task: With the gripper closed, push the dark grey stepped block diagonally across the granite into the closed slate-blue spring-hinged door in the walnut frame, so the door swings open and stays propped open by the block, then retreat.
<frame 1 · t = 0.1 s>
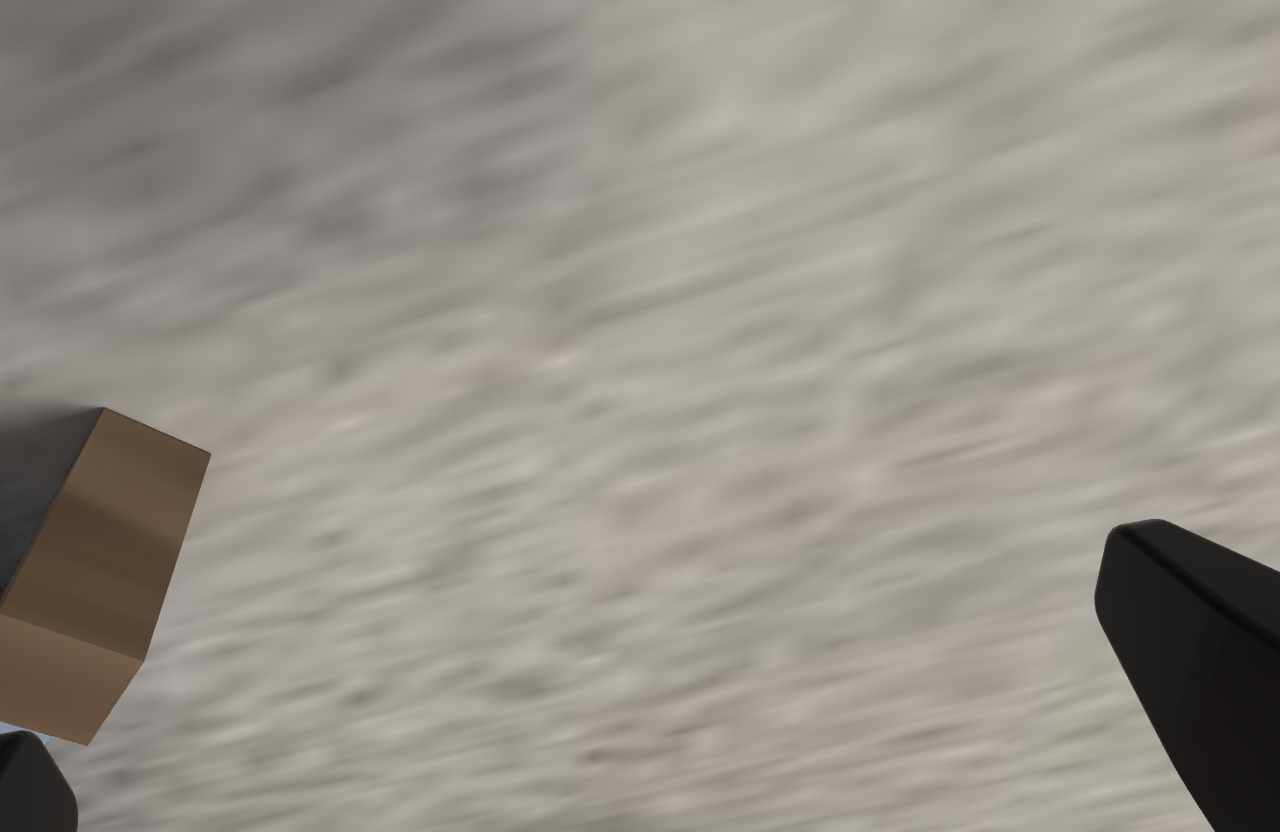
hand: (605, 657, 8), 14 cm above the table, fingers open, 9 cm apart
frame: (13, 672, 25), on the table
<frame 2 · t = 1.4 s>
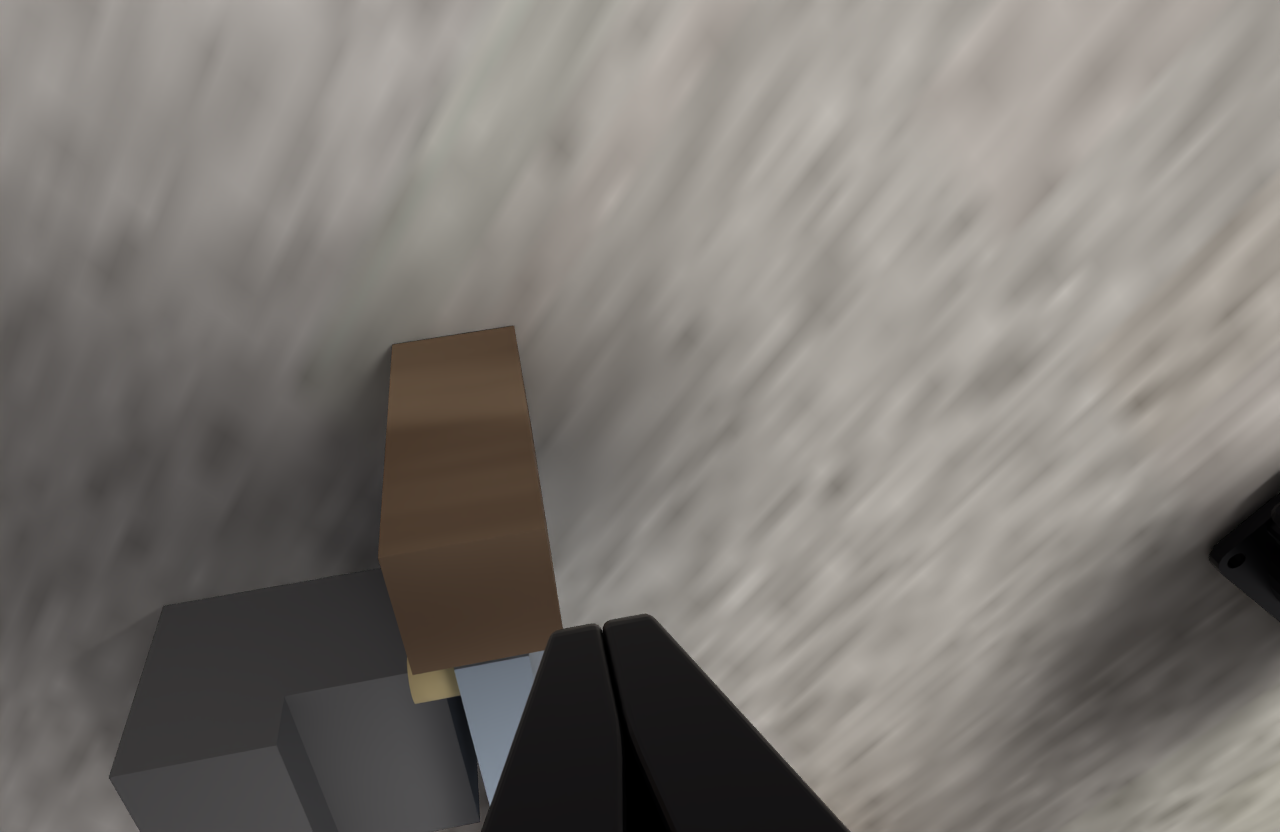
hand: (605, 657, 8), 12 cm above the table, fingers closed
dark grey stepped block: (330, 656, 24), on the table
door: (504, 741, 21), point 3 cm above the table, hinge at 0.0°
frame: (517, 639, 24), on the table
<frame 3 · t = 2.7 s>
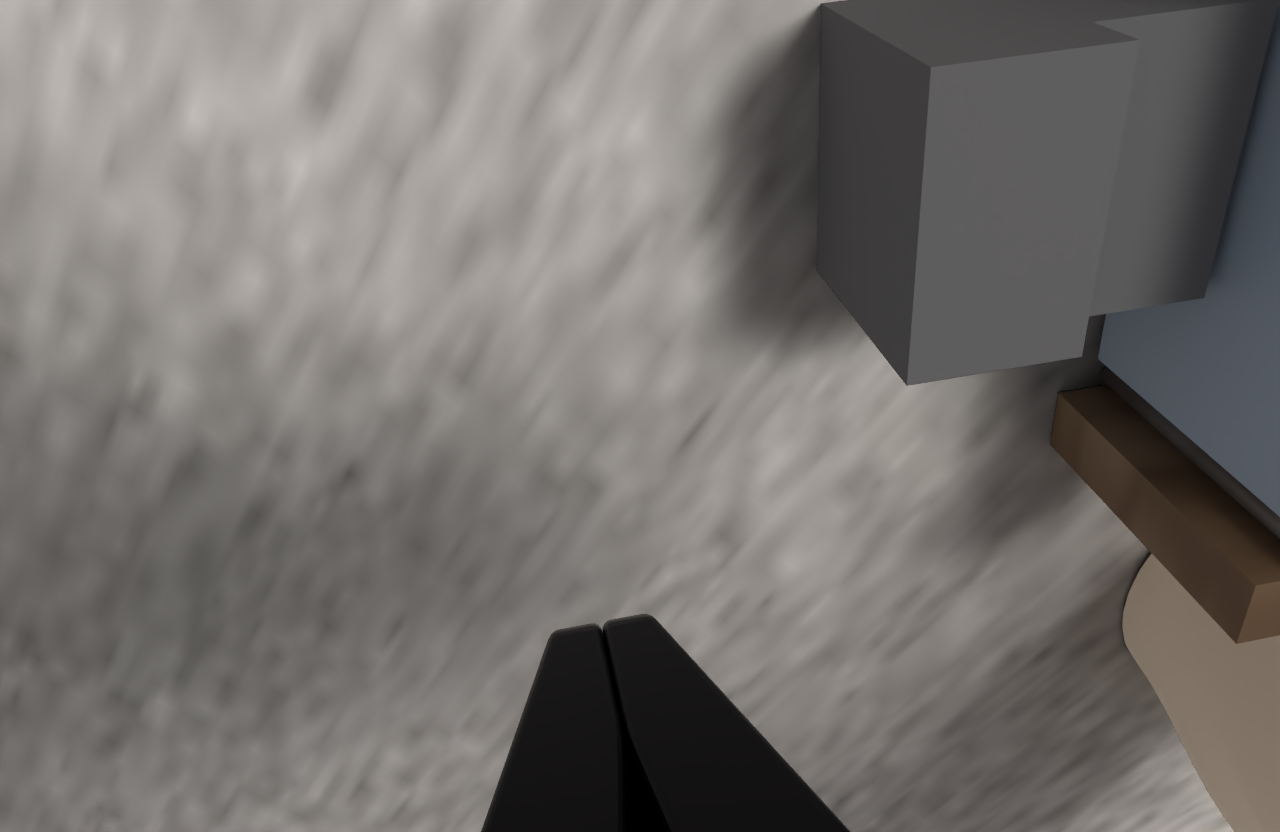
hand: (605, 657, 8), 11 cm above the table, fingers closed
dark grey stepped block: (969, 123, 19), on the table
door: (1260, 159, 16), point 3 cm above the table, hinge at 0.0°
water bottle: (1225, 581, 27), on the table
frame: (1160, 120, 19), on the table
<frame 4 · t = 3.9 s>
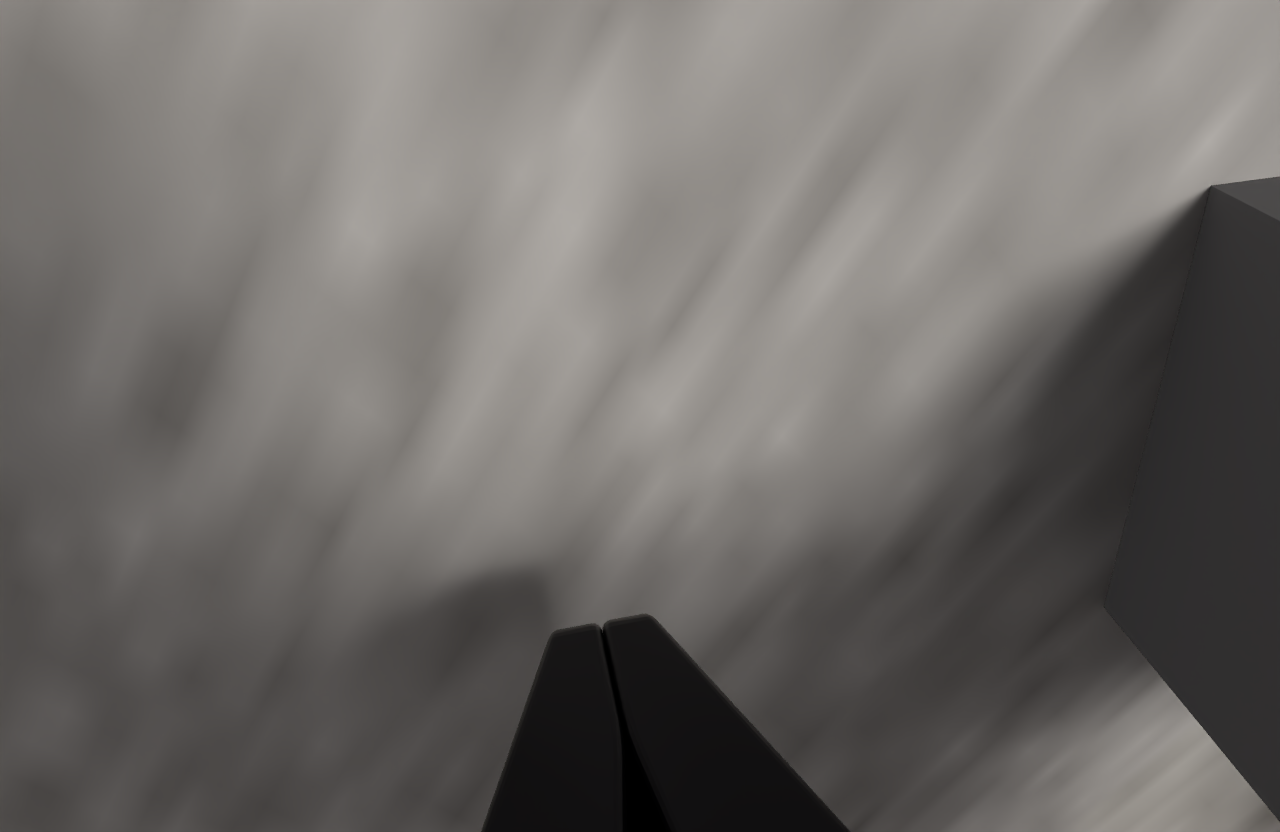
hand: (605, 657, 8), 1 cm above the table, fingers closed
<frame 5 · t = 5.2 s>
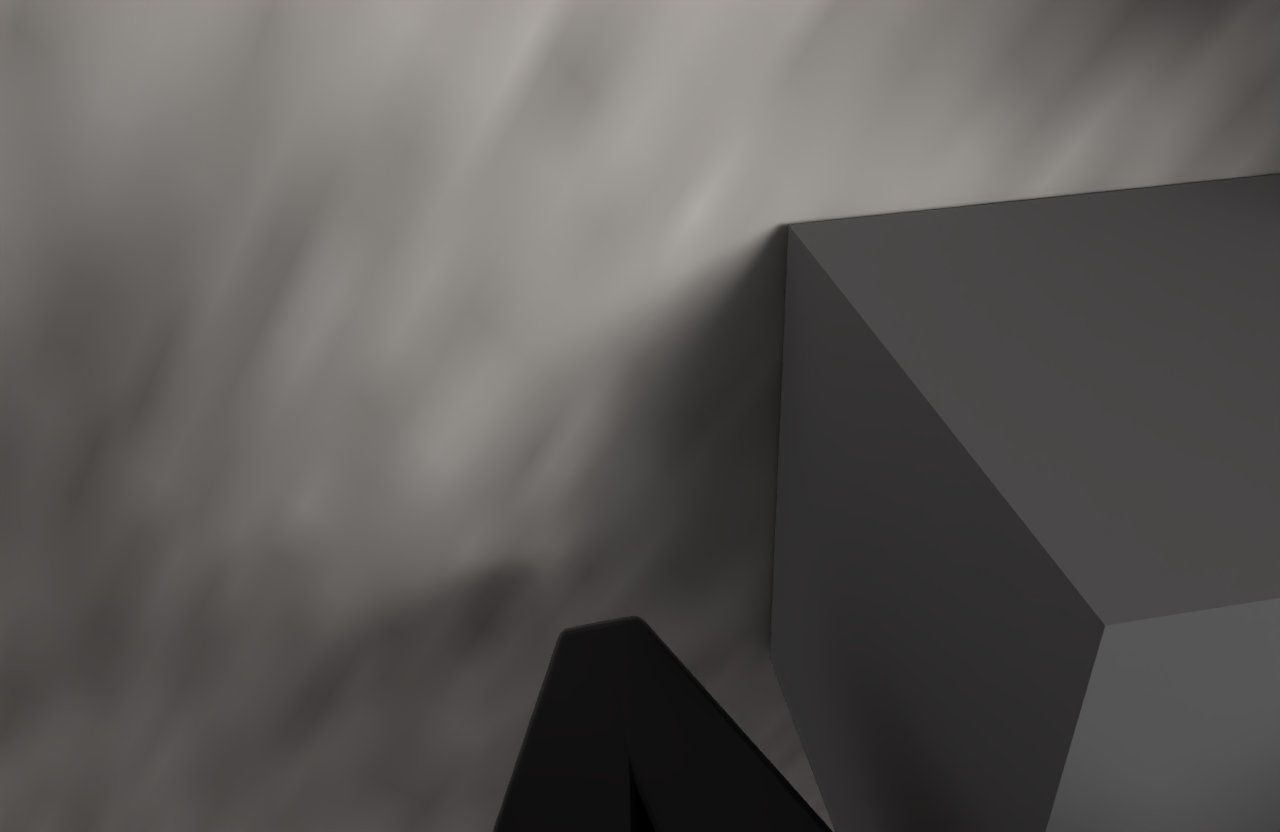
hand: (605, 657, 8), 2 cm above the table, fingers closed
dark grey stepped block: (1070, 432, 10), on the table, touching door, gripper
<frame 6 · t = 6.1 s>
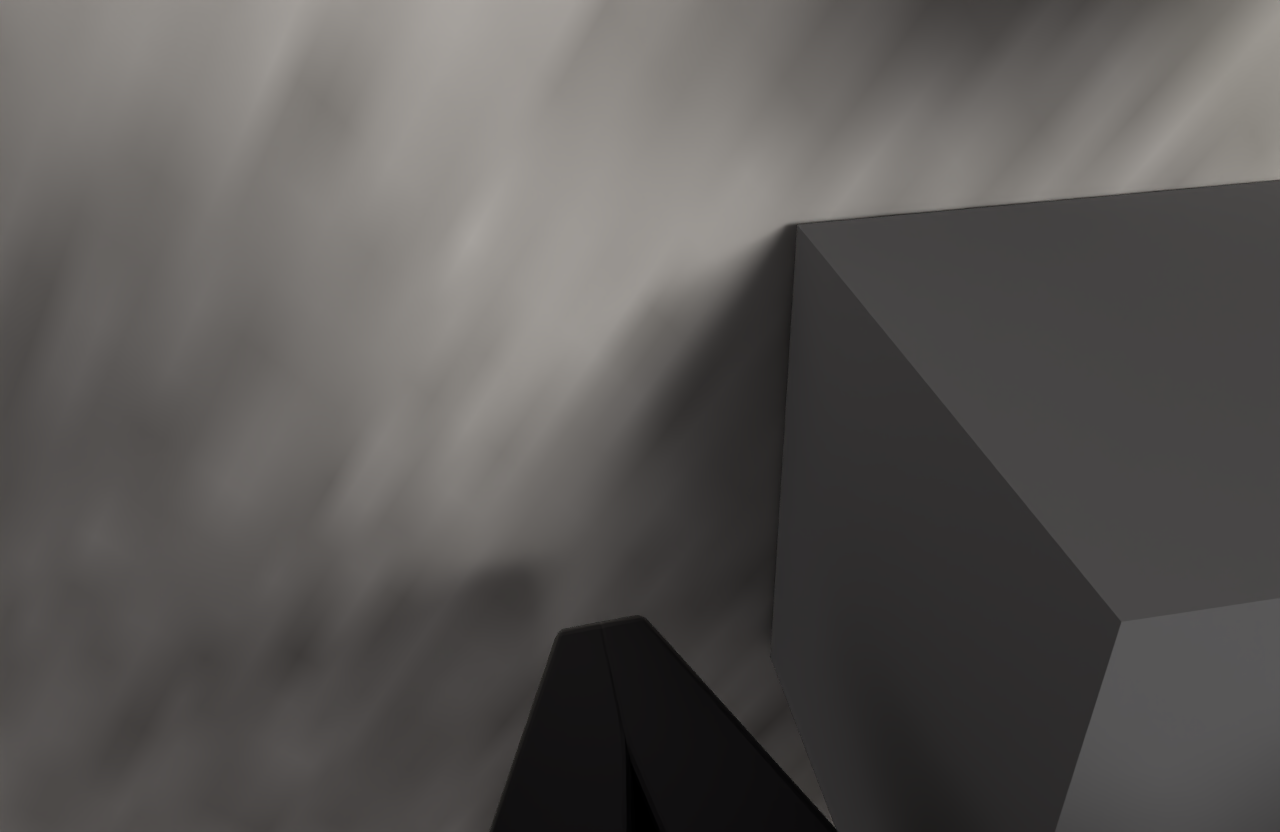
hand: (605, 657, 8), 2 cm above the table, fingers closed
dark grey stepped block: (1072, 434, 10), on the table, touching door, gripper
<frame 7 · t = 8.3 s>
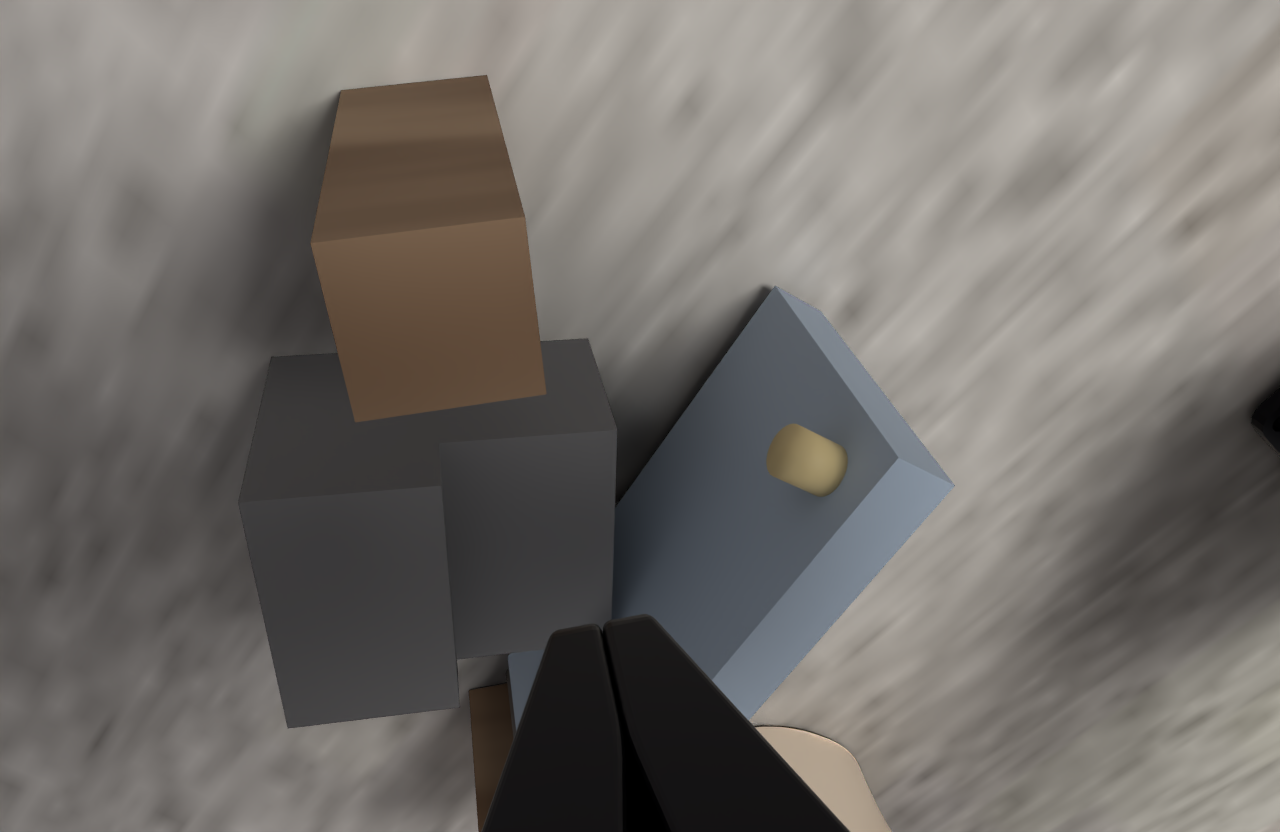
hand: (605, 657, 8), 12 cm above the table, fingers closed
dark grey stepped block: (442, 450, 21), on the table
door: (664, 582, 19), point 3 cm above the table, hinge at 36.1°
water bottle: (712, 818, 29), on the table
frame: (484, 485, 21), on the table
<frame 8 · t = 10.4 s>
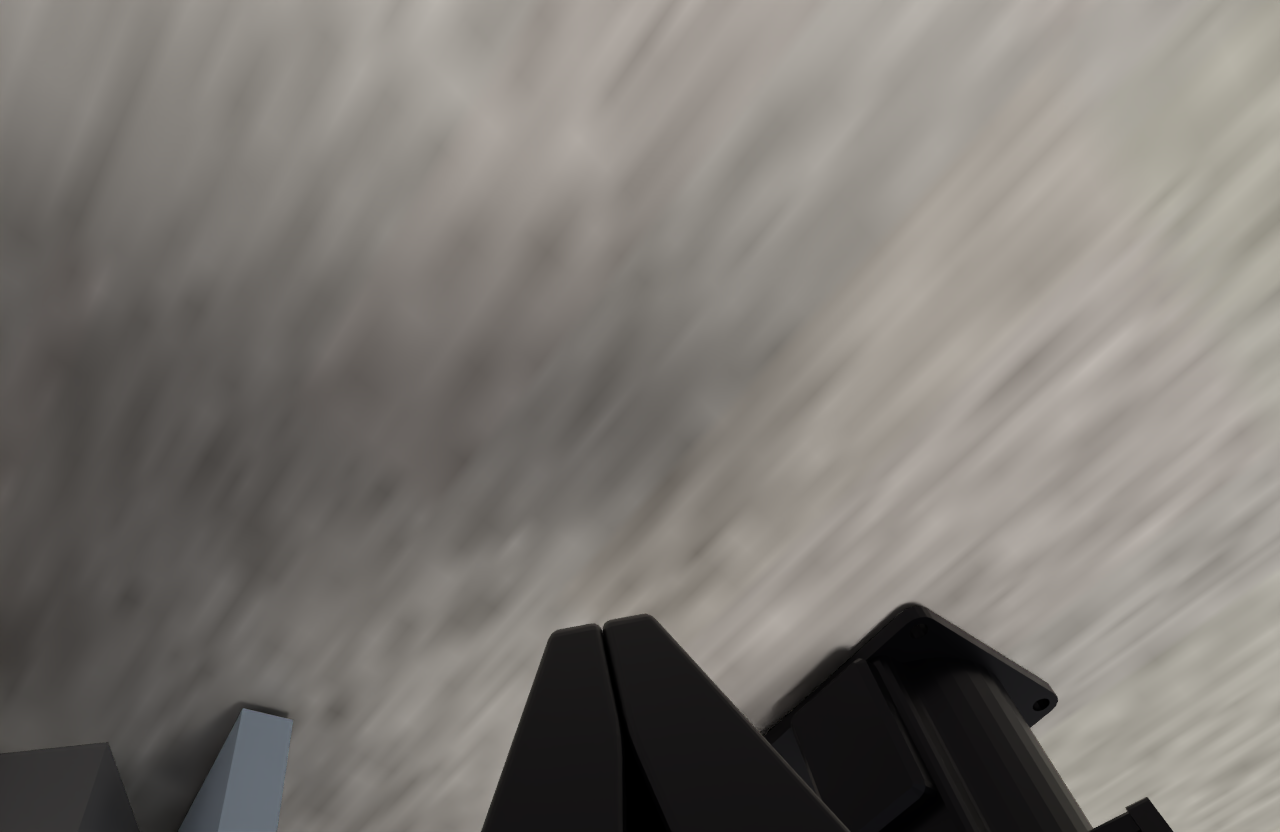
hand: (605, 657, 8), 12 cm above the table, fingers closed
dark grey stepped block: (4, 819, 25), on the table
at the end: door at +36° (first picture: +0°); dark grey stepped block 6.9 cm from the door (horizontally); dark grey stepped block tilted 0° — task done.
